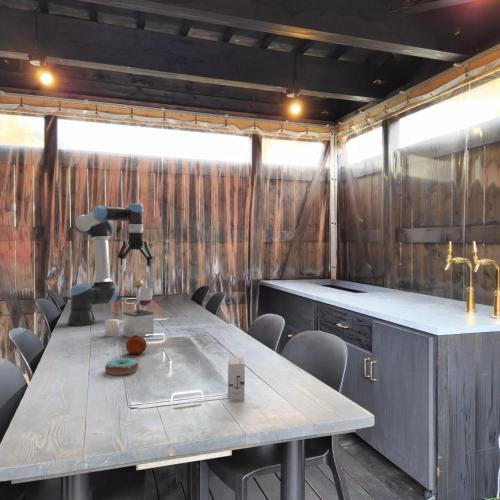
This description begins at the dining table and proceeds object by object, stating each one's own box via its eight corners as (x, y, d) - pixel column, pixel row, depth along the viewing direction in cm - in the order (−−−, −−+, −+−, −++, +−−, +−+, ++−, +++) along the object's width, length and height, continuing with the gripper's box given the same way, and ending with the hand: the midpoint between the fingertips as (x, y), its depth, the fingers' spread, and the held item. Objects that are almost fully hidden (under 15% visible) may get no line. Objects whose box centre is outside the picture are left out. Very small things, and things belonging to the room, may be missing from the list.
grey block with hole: (123, 335, 221) (123, 312, 221) (141, 332, 230) (141, 309, 229) (134, 338, 214) (134, 314, 214) (153, 335, 222) (153, 312, 222)
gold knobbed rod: (128, 316, 221) (128, 280, 221) (140, 314, 227) (140, 279, 226) (136, 318, 217) (136, 281, 216) (148, 316, 222) (148, 280, 222)
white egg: (102, 335, 222) (102, 320, 222) (114, 333, 227) (114, 318, 227) (109, 337, 217) (109, 321, 217) (122, 335, 222) (122, 319, 222)
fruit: (128, 357, 179) (128, 338, 179) (124, 352, 187) (124, 334, 187) (149, 354, 184) (149, 336, 183) (144, 350, 191) (144, 332, 191)
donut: (111, 367, 166) (111, 356, 166) (142, 367, 166) (142, 357, 166) (99, 376, 154) (99, 365, 154) (132, 377, 154) (132, 366, 154)
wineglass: (148, 329, 236) (148, 290, 235) (132, 329, 238) (132, 289, 237) (155, 326, 244) (155, 288, 244) (139, 326, 246) (139, 288, 246)
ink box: (227, 392, 138) (227, 356, 138) (243, 392, 138) (243, 356, 138) (228, 402, 129) (228, 363, 129) (245, 402, 130) (245, 363, 130)
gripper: (111, 231, 228) (110, 271, 229) (154, 232, 223) (153, 273, 223) (118, 231, 236) (118, 270, 236) (160, 232, 230) (159, 272, 231)
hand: (135, 271), depth 230 cm, fingers open, 13 cm apart
